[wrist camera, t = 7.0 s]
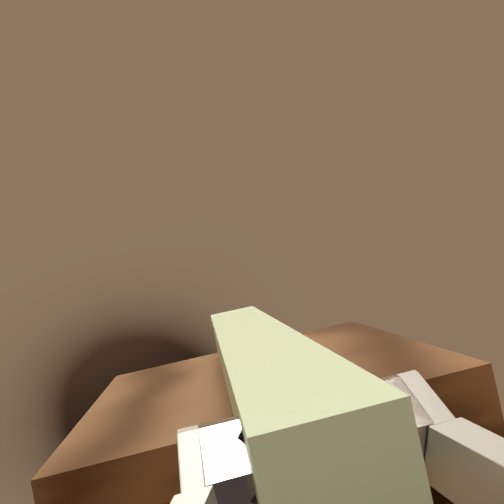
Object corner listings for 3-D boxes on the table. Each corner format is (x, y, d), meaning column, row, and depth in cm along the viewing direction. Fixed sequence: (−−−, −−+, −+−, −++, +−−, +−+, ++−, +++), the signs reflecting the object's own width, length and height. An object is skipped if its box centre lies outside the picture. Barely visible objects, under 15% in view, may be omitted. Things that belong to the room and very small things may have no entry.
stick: (283, 614, 7) (247, 437, 7) (219, 357, 30) (210, 315, 30) (446, 563, 8) (410, 395, 8) (260, 348, 30) (252, 306, 31)
